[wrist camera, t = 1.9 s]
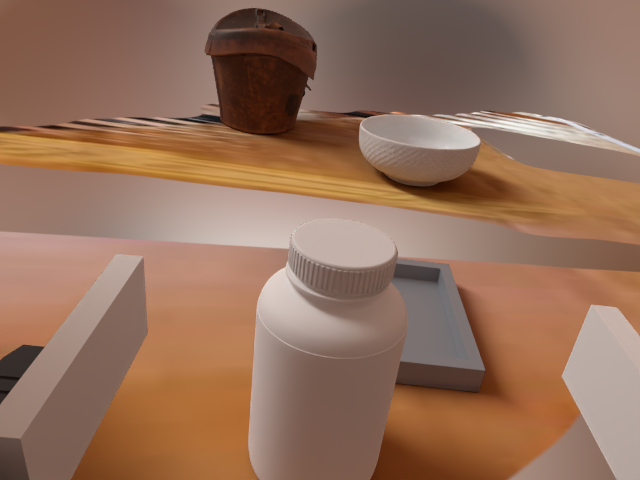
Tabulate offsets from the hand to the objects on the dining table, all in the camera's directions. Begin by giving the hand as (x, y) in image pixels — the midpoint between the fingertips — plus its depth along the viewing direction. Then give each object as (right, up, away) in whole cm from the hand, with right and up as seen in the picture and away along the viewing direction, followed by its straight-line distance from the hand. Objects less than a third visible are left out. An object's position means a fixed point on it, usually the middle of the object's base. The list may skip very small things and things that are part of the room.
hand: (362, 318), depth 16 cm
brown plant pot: (-12, +22, +77) cm, 81 cm away
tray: (+3, -5, +30) cm, 30 cm away
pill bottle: (-2, -11, +17) cm, 20 cm away
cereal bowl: (+12, +11, +62) cm, 65 cm away
